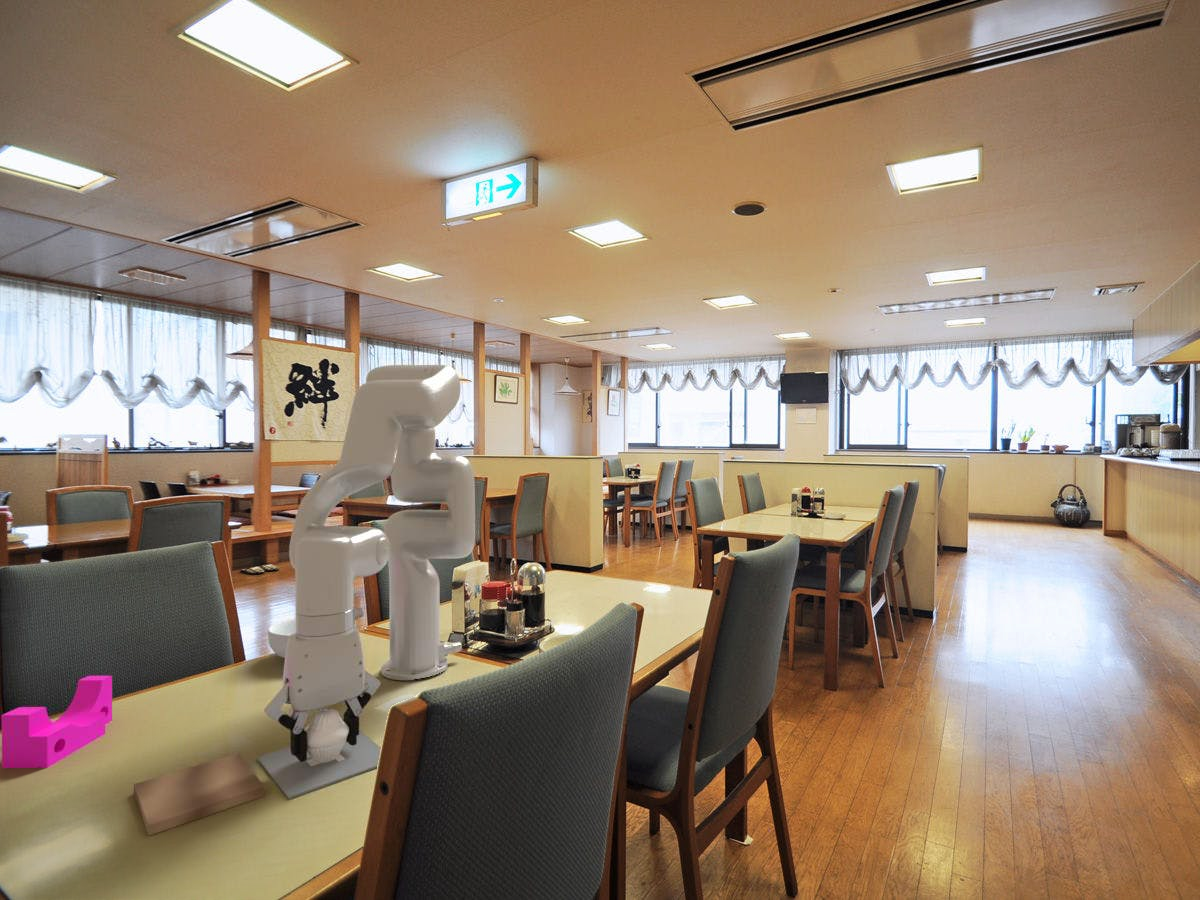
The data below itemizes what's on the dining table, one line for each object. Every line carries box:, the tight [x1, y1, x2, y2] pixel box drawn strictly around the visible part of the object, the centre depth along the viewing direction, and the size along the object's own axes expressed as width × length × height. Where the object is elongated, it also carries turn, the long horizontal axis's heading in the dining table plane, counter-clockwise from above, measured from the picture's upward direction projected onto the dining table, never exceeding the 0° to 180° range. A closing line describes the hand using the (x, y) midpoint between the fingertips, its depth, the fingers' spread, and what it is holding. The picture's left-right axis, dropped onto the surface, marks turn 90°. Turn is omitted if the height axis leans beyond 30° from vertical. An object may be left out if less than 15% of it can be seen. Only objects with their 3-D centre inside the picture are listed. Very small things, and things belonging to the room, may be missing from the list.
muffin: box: [304, 707, 349, 763], centre depth 89 cm, size 6×6×7 cm
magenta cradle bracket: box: [1, 675, 113, 769], centre depth 95 cm, size 15×6×8 cm, turn 0°
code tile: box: [256, 729, 382, 800], centre depth 89 cm, size 14×14×1 cm
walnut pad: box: [133, 752, 265, 836], centre depth 80 cm, size 12×12×1 cm
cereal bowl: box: [267, 618, 357, 659], centre depth 133 cm, size 17×17×7 cm
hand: (325, 748), depth 89 cm, fingers closed on muffin, 6 cm apart
